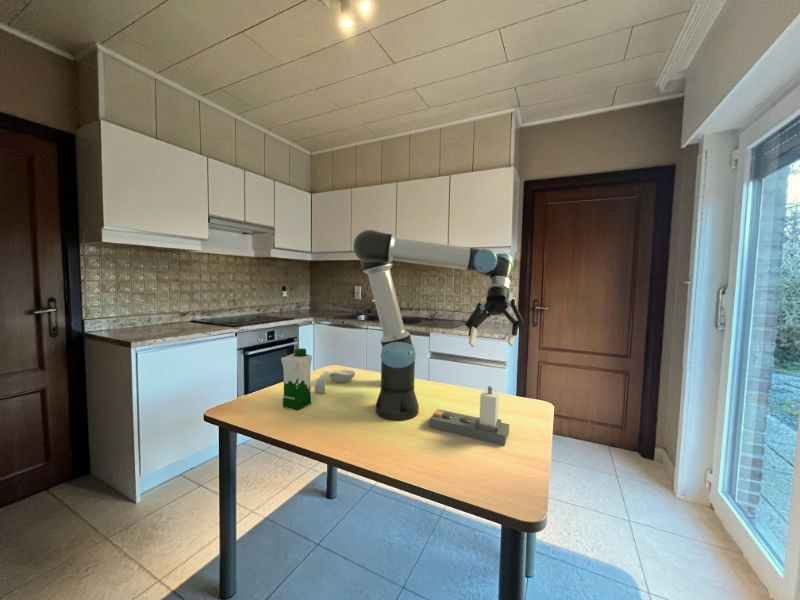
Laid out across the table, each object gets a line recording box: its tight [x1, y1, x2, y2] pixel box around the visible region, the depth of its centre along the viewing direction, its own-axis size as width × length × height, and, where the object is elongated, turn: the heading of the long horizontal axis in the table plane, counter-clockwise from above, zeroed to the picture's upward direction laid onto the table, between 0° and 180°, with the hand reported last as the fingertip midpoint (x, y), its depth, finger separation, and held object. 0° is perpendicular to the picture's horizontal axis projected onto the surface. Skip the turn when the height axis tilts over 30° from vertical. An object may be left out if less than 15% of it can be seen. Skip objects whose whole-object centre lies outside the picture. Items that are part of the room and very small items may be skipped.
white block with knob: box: [479, 386, 500, 427], centre depth 101 cm, size 4×5×12 cm
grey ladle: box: [313, 369, 356, 395], centre depth 143 cm, size 24×12×7 cm, turn 161°
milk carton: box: [280, 348, 313, 411], centre depth 120 cm, size 9×9×20 cm
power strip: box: [429, 409, 510, 446], centre depth 104 cm, size 23×8×4 cm, turn 64°
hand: (490, 344), depth 110 cm, fingers open, 13 cm apart
